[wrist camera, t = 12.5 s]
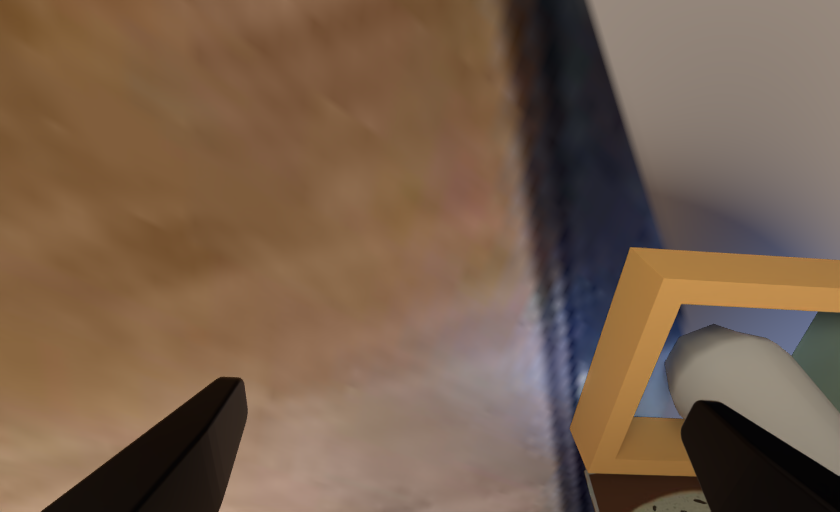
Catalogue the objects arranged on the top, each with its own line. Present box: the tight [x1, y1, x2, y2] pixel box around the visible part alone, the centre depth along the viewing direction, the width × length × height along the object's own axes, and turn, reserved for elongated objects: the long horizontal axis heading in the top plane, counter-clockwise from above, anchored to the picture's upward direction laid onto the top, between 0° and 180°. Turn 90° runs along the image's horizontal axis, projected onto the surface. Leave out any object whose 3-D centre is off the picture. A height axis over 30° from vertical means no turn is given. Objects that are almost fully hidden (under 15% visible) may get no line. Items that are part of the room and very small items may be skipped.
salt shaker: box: [664, 324, 840, 476], centre depth 18 cm, size 6×6×13 cm
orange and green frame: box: [570, 247, 840, 476], centre depth 22 cm, size 14×21×4 cm, turn 86°
